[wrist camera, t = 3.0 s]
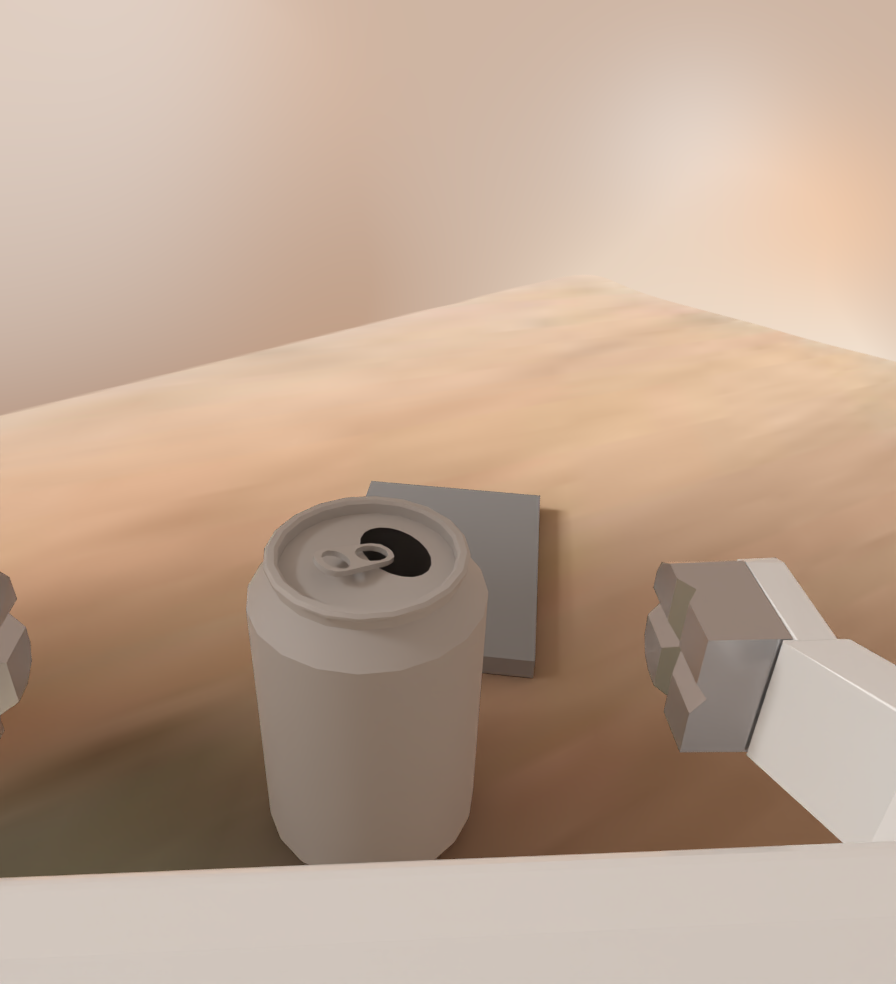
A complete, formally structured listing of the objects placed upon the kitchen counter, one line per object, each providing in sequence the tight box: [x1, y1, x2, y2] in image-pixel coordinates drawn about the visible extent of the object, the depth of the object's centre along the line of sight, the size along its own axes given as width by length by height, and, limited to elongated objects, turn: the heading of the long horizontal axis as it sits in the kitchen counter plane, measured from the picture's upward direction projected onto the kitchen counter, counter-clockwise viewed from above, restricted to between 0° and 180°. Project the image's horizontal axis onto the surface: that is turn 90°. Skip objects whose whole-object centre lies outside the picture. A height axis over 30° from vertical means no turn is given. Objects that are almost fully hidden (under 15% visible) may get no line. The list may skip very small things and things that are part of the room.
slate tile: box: [366, 481, 540, 678], centre depth 43 cm, size 14×10×1 cm
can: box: [246, 496, 488, 865], centre depth 28 cm, size 8×8×12 cm
